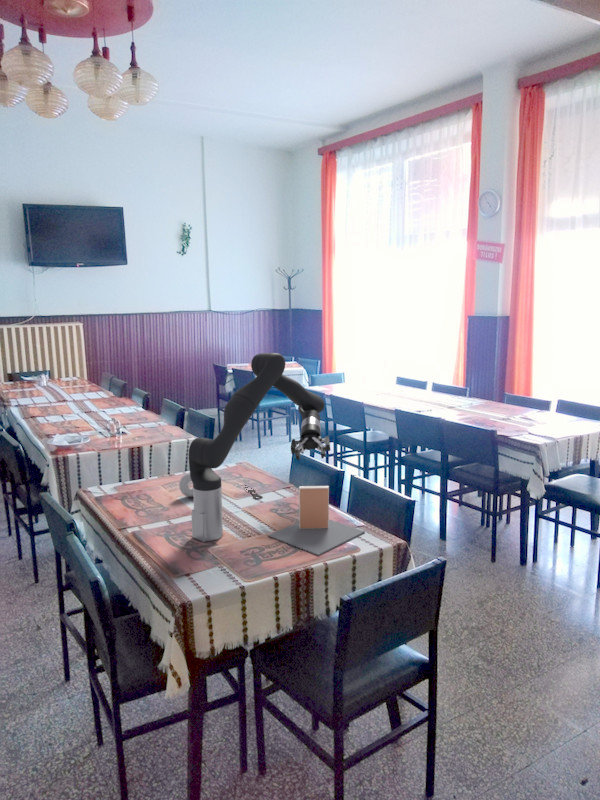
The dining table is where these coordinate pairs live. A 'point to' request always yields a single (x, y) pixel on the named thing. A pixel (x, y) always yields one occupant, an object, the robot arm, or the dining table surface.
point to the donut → (186, 485)
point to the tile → (313, 507)
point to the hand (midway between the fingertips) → (310, 457)
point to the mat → (317, 537)
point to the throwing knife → (254, 494)
